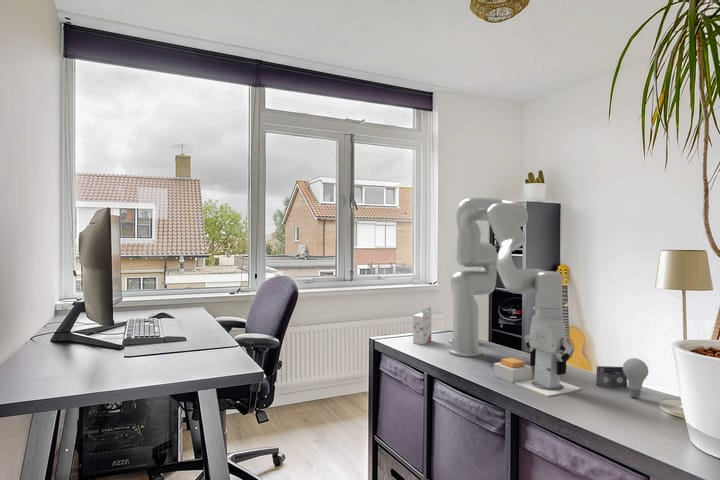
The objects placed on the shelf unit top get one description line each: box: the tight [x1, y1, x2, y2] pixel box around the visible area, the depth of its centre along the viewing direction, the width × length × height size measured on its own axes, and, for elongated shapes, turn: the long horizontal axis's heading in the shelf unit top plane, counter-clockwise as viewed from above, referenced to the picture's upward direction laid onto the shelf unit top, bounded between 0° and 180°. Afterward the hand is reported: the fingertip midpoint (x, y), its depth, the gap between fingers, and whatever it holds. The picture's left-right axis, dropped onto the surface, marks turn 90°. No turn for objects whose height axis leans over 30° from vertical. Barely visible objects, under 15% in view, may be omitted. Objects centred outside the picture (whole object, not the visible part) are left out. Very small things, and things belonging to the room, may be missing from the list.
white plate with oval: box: [514, 378, 582, 398], centre depth 134 cm, size 12×14×1 cm
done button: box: [500, 356, 525, 368], centre depth 142 cm, size 5×5×3 cm
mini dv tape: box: [595, 365, 628, 389], centre depth 135 cm, size 8×2×6 cm, turn 86°
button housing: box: [493, 361, 533, 384], centre depth 143 cm, size 8×8×4 cm
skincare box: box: [534, 349, 561, 388], centre depth 134 cm, size 6×4×12 cm
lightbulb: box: [622, 357, 649, 399], centre depth 125 cm, size 6×6×11 cm
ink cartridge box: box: [412, 306, 432, 345], centre depth 189 cm, size 9×5×15 cm, turn 147°
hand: (547, 369), depth 134 cm, fingers open, 9 cm apart
